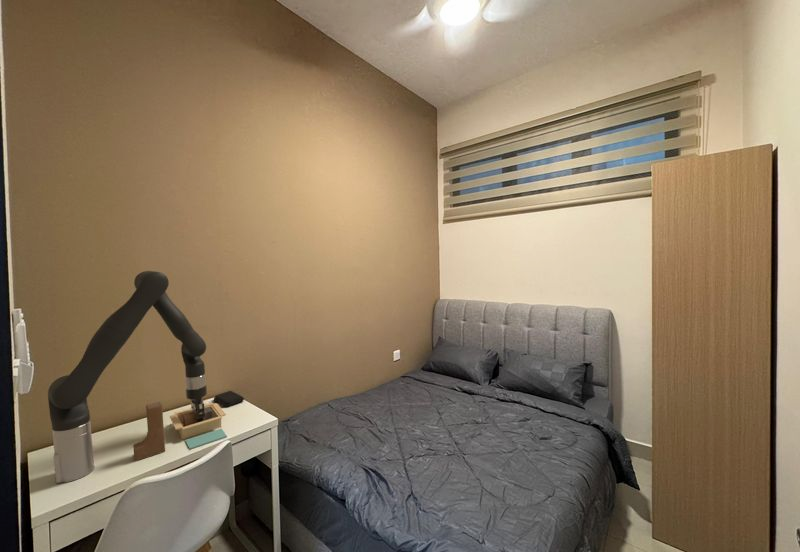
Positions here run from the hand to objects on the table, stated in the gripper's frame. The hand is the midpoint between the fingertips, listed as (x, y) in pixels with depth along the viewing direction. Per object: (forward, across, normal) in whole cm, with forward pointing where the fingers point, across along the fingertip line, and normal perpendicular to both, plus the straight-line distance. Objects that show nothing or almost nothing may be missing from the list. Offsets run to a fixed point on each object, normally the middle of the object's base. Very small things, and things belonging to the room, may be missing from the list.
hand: (198, 422), depth 147 cm
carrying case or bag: (+2, -18, +16) cm, 25 cm away
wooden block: (+2, +11, -18) cm, 21 cm away
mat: (+1, +14, 0) cm, 14 cm away
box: (+1, 0, 0) cm, 1 cm away
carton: (+1, 0, 0) cm, 1 cm away
